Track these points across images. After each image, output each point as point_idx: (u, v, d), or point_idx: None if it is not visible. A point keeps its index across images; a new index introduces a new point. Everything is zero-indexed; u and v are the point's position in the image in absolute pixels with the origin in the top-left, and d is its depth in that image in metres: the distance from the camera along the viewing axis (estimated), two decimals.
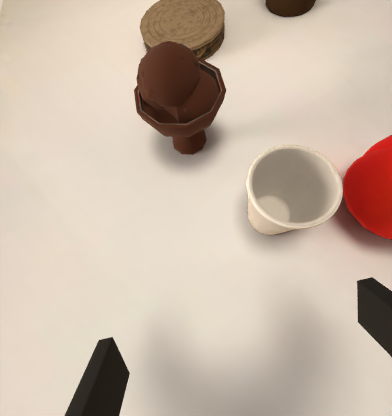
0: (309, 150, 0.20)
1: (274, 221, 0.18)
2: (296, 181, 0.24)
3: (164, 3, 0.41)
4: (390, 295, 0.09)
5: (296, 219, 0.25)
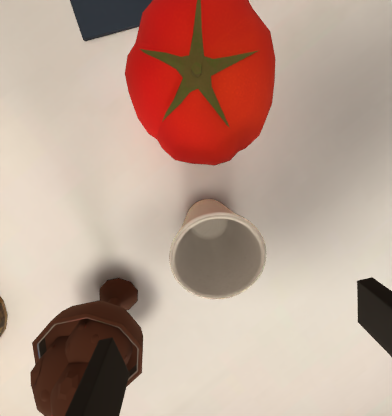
0: (177, 239, 0.17)
1: (257, 278, 0.18)
2: None
3: None
4: (390, 295, 0.09)
5: None
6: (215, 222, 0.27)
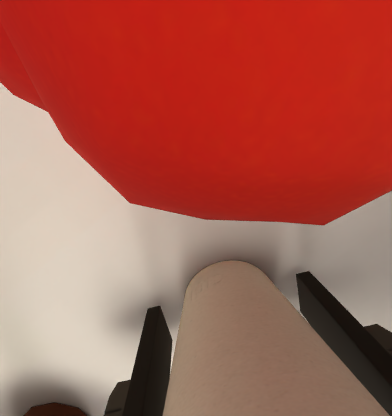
0: None
1: None
2: None
3: None
4: (317, 285, 0.11)
5: None
6: None
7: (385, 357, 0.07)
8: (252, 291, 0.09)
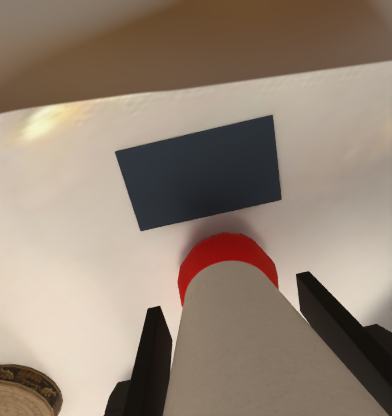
0: None
1: None
2: None
3: None
4: (317, 285, 0.11)
5: None
6: None
7: (385, 357, 0.07)
8: (252, 291, 0.09)
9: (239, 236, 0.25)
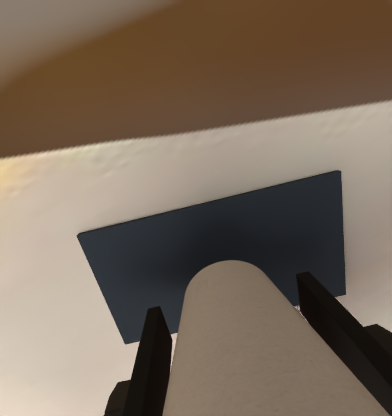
0: None
1: None
2: None
3: None
4: (317, 285, 0.11)
5: None
6: None
7: (385, 357, 0.07)
8: (252, 291, 0.09)
9: None
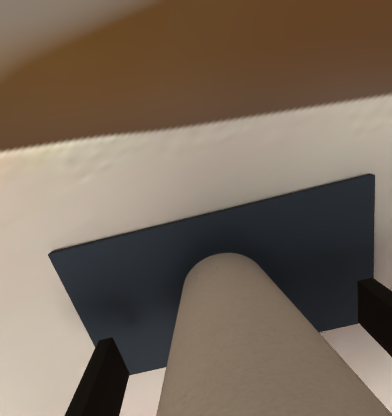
0: None
1: None
2: None
3: None
4: (390, 295, 0.09)
5: None
6: None
7: None
8: (245, 279, 0.10)
9: None
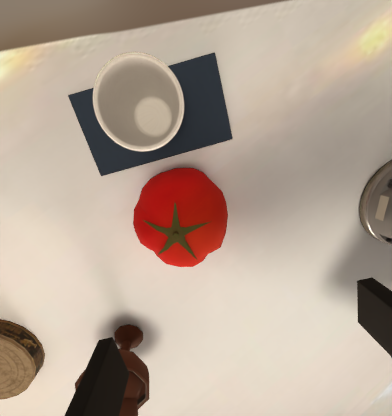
0: (97, 82, 0.18)
1: (178, 127, 0.20)
2: (124, 91, 0.23)
3: None
4: (390, 295, 0.09)
5: (161, 93, 0.25)
6: (160, 119, 0.28)
7: None
8: None
9: (188, 168, 0.27)
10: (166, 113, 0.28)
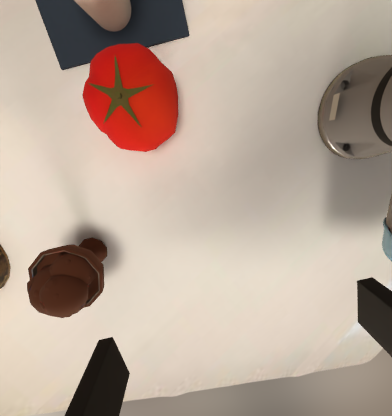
0: None
1: None
2: None
3: None
4: (390, 295, 0.09)
5: None
6: None
7: None
8: None
9: None
10: None
